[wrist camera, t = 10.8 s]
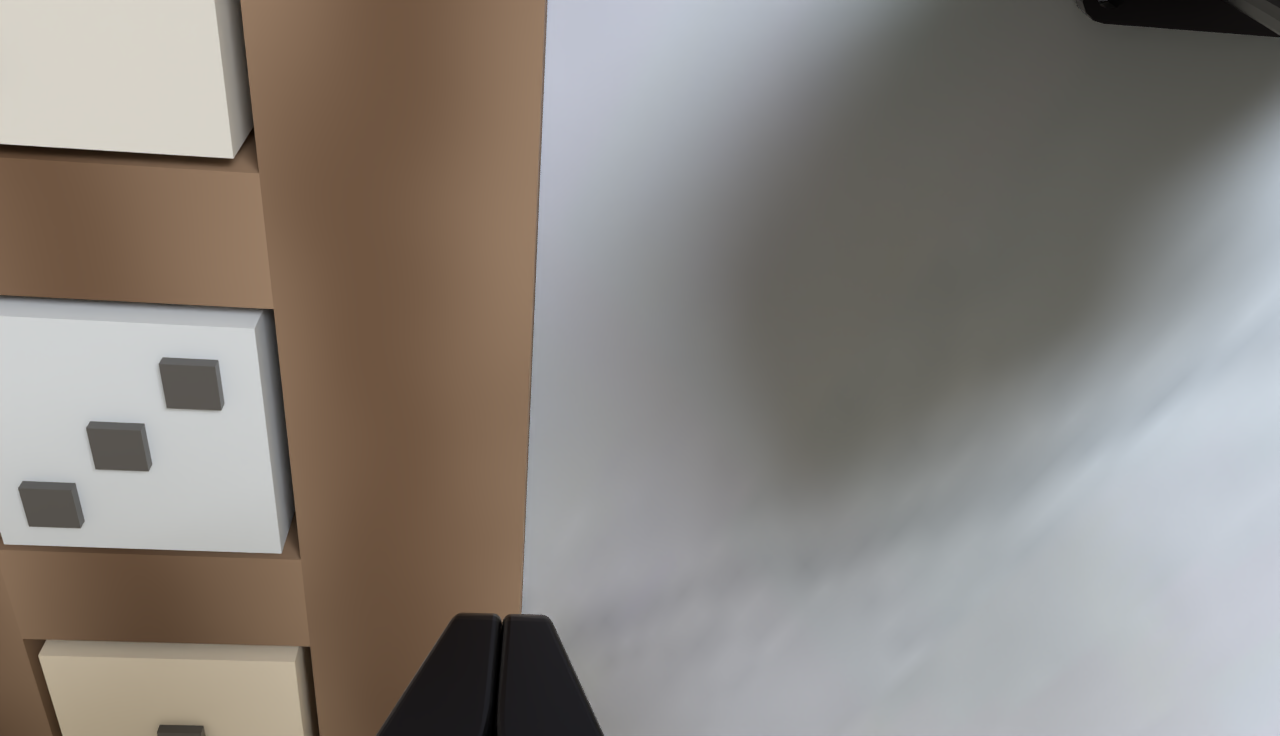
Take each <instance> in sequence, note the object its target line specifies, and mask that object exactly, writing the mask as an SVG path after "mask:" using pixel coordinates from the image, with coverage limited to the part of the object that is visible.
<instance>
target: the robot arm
mask: <svg viewBox="0 0 1280 736" xmlns="http://www.w3.org/2000/svg"><path fill="white" fill-rule="evenodd" d="M1076 4H1077V6H1078V7H1079V8H1080V9H1081V10H1082V11H1083V12H1084V13H1085V14H1086V15H1087V16H1089V17H1090V18H1091V19H1092V20H1094V21H1097V22H1100V23H1104V24H1116V25H1129V26H1142V27H1155V28H1168V29H1180V30H1193V31H1206V32H1219V33H1232V34H1244V35H1257V36H1270V37H1280V0H1107V1H1102V2H1099V1H1098V0H1076ZM376 736H604V734H603V732H602V730H601V728H600V725H599V723H598V721H597V719H596V717H595V715H594V712H593V710H592V708H591V706H590V704H589V701H588V699H587V697H586V695H585V693H584V690H583V688H582V686H581V684H580V682H579V680H578V677H577V675H576V673H575V671H574V669H573V666H572V664H571V662H570V660H569V658H568V655H567V653H566V651H565V649H564V647H563V644H562V642H561V640H560V638H559V636H558V634H557V631H556V629H555V627H554V625H553V623H552V621H551V620H550V619H549V618H548V617H547V616H545V615H531V614H508V615H507V616H505V617H504V619H503V622H502V620H501V618H500V616H498V615H497V614H494V613H458V614H456V615H455V616H454V617H453V618H452V619H451V620H450V622H449V623H448V625H447V626H446V628H445V629H444V631H443V633H442V634H441V636H440V637H439V639H438V640H437V642H436V643H435V645H434V646H433V648H432V649H431V651H430V653H429V654H428V656H427V657H426V659H425V660H424V662H423V663H422V665H421V666H420V668H419V670H418V671H417V673H416V674H415V676H414V677H413V679H412V680H411V682H410V683H409V685H408V686H407V688H406V690H405V691H404V693H403V694H402V696H401V697H400V699H399V700H398V702H397V703H396V705H395V706H394V708H393V710H392V711H391V713H390V714H389V716H388V717H387V719H386V720H385V722H384V723H383V725H382V727H381V728H380V730H379V731H378V733H377V734H376Z"/></svg>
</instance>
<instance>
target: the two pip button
mask: <svg viewBox="0 0 1280 736" xmlns="http://www.w3.org/2000/svg"><path fill="white" fill-rule="evenodd" d="M253 127H254V122H253V113H252V104H251V95H250V85H249V76H248V67H247V58H246V48H245V39H244V30H243V21H242V11H241V2H240V0H0V144H9V145H25V146H41V147H57V148H73V149H89V150H105V151H121V152H136V153H152V154H168V155H184V156H200V157H216V158H232V159H234V157H235V155H236V154H237V152H238V151H239V149H240V147H241V146H242V144H243V143H244V141H245V139H246V138H247V136H248V135H249V133H250V131H251V130H252V128H253Z"/></svg>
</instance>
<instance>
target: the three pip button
mask: <svg viewBox="0 0 1280 736" xmlns="http://www.w3.org/2000/svg"><path fill="white" fill-rule="evenodd" d="M294 512H295V502H294V493H293V483H292V474H291V465H290V456H289V446H288V437H287V428H286V418H285V409H284V400H283V391H282V381H281V372H280V363H279V354H278V344H277V335H276V326H275V317H274V309H262V308H242V307H223V306H204V305H184V304H165V303H146V302H127V301H107V300H88V299H69V298H50V297H30V296H11V295H0V533H1V536H2V539H3V542H4V544H8V545H38V546H68V547H98V548H127V549H157V550H187V551H217V552H246V553H276V554H282V551H283V547H284V544H285V541H286V538H287V535H288V532H289V528H290V525H291V522H292V519H293V516H294Z"/></svg>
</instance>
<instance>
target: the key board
mask: <svg viewBox="0 0 1280 736" xmlns="http://www.w3.org/2000/svg"><path fill="white" fill-rule="evenodd" d="M240 2H241V11H242V21H243V30H244V39H245V48H246V58H247V67H248V76H249V85H250V95H251V104H252V113H253V122H254V127H253V128H252V130H251V131H250V133H249V135H248V136H247V138H246V139H245V141H244V143H243V144H242V146H241V147H240V149H239V151H238V152H237V154H236V155H235V157H234V159H232V158H216V157H200V156H184V155H168V154H152V153H136V152H121V151H105V150H89V149H73V148H57V147H41V146H25V145H9V144H0V295H11V296H30V297H50V298H69V299H88V300H107V301H127V302H146V303H165V304H184V305H204V306H223V307H242V308H262V309H274V317H275V326H276V335H277V344H278V354H279V363H280V372H281V381H282V391H283V400H284V409H285V418H286V428H287V437H288V446H289V456H290V465H291V474H292V483H293V493H294V502H295V512H294V516H293V519H292V522H291V525H290V528H289V532H288V535H287V538H286V541H285V544H284V547H283V551H282V554H276V553H246V552H217V551H187V550H157V549H127V548H98V547H68V546H38V545H8V544H4V542H3V539H2V536H1V533H0V736H63V735H62V732H61V729H60V726H59V722H58V719H57V716H56V712H55V709H54V706H53V703H52V699H51V696H50V693H49V690H48V686H47V683H46V680H45V676H44V673H43V670H42V667H41V663H40V660H39V657H38V655H39V653H40V651H41V649H42V647H43V645H44V643H45V641H46V640H82V641H119V642H157V643H194V644H231V645H269V646H306V647H310V650H311V659H312V668H313V678H314V687H315V696H316V705H317V715H318V724H319V733H320V736H376V734H377V733H378V731H379V730H380V728H381V727H382V725H383V723H384V722H385V720H386V719H387V717H388V716H389V714H390V713H391V711H392V710H393V708H394V706H395V705H396V703H397V702H398V700H399V699H400V697H401V696H402V694H403V693H404V691H405V690H406V688H407V686H408V685H409V683H410V682H411V680H412V679H413V677H414V676H415V674H416V673H417V671H418V670H419V668H420V666H421V665H422V663H423V662H424V660H425V659H426V657H427V656H428V654H429V653H430V651H431V649H432V648H433V646H434V645H435V643H436V642H437V640H438V639H439V637H440V636H441V634H442V633H443V631H444V629H445V628H446V626H447V625H448V623H449V622H450V620H451V619H452V618H453V617H454V616H455V615H456V614H458V613H494V614H497V615H498V616H500V618H501V620H502V622H503V619H504V617H505V616H507V615H508V614H521V612H522V589H523V565H524V542H525V518H526V495H527V471H528V447H529V424H530V400H531V377H532V353H533V330H534V306H535V283H536V259H537V235H538V212H539V188H540V165H541V141H542V118H543V94H544V70H545V47H546V23H547V0H240Z"/></svg>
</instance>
